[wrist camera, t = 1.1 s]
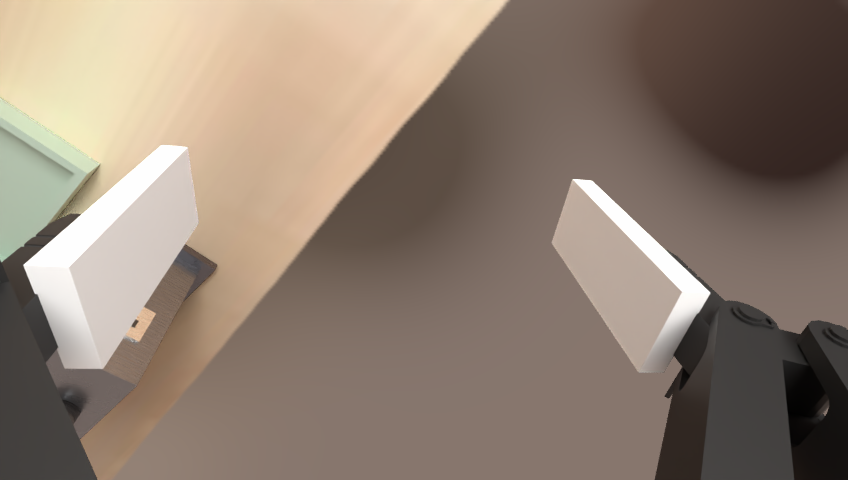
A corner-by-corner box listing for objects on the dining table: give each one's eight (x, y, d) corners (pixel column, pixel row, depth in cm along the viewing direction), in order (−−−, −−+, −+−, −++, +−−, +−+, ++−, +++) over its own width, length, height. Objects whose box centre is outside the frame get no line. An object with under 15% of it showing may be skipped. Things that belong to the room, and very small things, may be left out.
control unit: (61, 268, 42) (-82, 411, 29) (118, 201, 39) (-11, 325, 26) (160, 321, 47) (76, 466, 33) (217, 265, 44) (151, 398, 30)
